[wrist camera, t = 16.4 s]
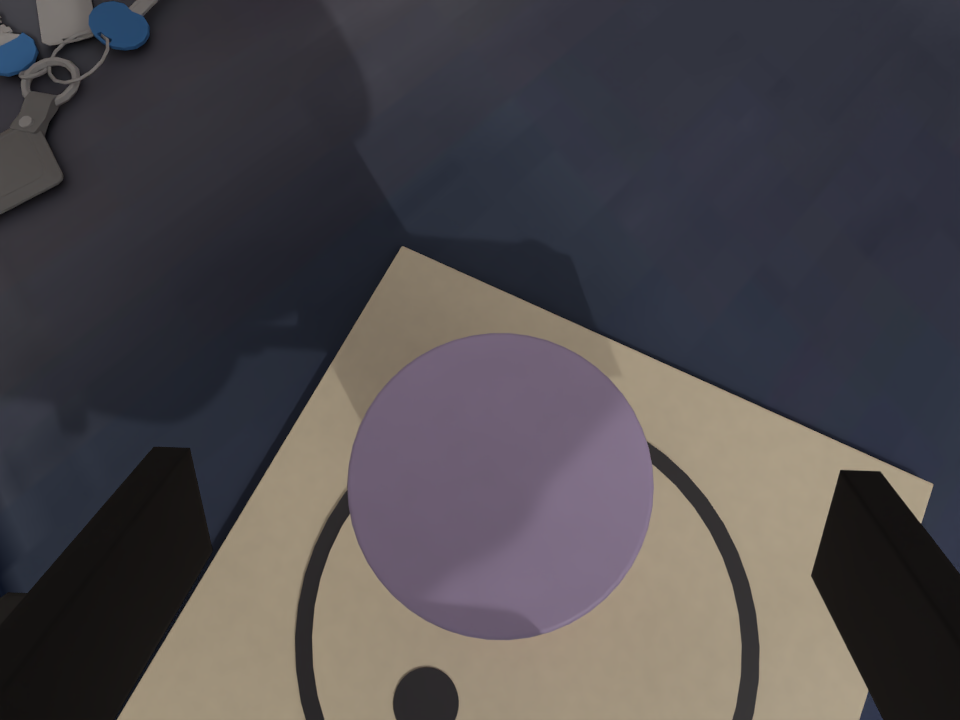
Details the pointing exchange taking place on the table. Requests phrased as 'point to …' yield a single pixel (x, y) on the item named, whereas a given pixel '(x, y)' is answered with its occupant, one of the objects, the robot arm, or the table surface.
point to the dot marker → (500, 486)
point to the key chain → (62, 15)
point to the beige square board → (563, 652)
